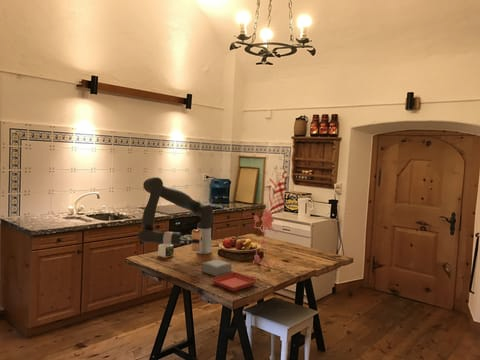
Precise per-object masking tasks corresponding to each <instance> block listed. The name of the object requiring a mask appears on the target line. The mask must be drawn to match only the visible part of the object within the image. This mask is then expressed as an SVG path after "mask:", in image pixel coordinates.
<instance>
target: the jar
mask: <svg viewBox="0 0 480 360" xmlns="http://www.w3.org/2000/svg"><path fill="white" fill-rule="evenodd" d="M191 235H192V239H198V240H200V243H199V244H197V243H193V244H191V247H190V248H191V251H192V252H197V251H200V245H201V231H200V230H199V229H197V228H196V229H195V228H194V229H192V231H191Z"/></svg>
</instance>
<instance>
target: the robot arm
mask: <svg viewBox="0 0 480 360" xmlns="http://www.w3.org/2000/svg"><path fill="white" fill-rule="evenodd" d="M143 189H144V190H145V192H146V193H149V199H148V200H147V203H146V205H145V208H144V210H143V214H142V220H141V225H142V230H140V231H139V232H138V233H137V239H138V240H139V241H140V242H142V243H145V244H149V243H155V244H159V245H161V244H168V245H174V246H180V245H192V244H193V243H197V244H199V243H200V240H198V239H192V234H185V235H182V232H179V231H156V230H154V223H155V219H156V217H155V216H156V212H157V208H158V207H157V206H158V204H159V200H160V198H163V199H164V200H166V201H168V202H169V203H172V204H173V205H175V206H178V207H179V208H182V209H185V210H189V211H190V212H192V213H194V214H196V215H197V216H198V217H200V221H199V222H198V223H197V228H196V229H199V230H200V231H201V245H200V251H196V253H197V254H200V255H208V254H211V253H212V244H213V242H212V241H213V238H212V225H213V222H214V221H213V219H214V208H213V206H212V205H211V204H207V203H203V202H199V201H197V200H194V199H193V198H192V197H191V196H190V195H188V194H187V193H185V192H184V191H182V190H179V189H176V188H171V187H168V186H165V185H164V183H163V180H162V178H160V177H156V176H155V177H151V178H150V177H149V178H148V179H146V180H145V181H144V182H143Z"/></svg>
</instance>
